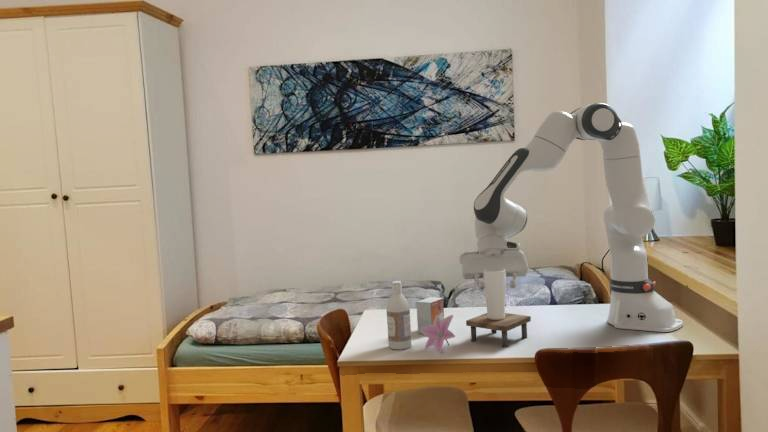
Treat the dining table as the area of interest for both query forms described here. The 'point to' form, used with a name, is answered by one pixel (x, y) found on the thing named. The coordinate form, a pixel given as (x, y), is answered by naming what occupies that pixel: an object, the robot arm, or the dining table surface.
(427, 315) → the small box
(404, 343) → the bath foam
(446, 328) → the lily
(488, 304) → the white tall cup
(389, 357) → the dining table surface
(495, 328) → the shelf stand
